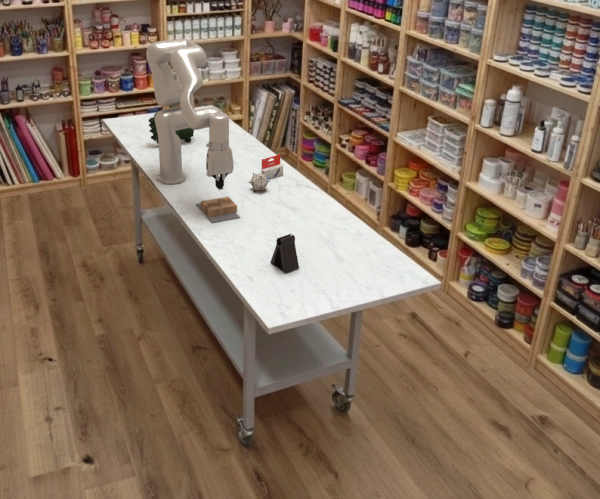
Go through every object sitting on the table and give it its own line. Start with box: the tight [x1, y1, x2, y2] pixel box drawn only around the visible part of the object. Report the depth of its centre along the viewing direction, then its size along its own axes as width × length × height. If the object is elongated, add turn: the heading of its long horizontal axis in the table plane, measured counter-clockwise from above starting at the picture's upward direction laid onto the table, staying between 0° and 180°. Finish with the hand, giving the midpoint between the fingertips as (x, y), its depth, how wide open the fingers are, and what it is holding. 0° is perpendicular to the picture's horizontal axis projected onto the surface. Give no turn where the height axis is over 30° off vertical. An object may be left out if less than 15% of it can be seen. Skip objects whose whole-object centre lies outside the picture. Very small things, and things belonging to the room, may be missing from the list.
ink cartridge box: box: [261, 154, 284, 181], centre depth 313 cm, size 2×11×10 cm, turn 131°
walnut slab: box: [200, 196, 238, 217], centre depth 284 cm, size 9×3×12 cm
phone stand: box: [270, 233, 300, 274], centre depth 247 cm, size 9×6×12 cm, turn 39°
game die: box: [248, 172, 271, 193], centre depth 302 cm, size 9×8×10 cm
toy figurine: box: [147, 111, 195, 145], centre depth 341 cm, size 9×19×25 cm
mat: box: [195, 202, 241, 224], centre depth 284 cm, size 18×12×1 cm, turn 28°
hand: (219, 188), depth 280 cm, fingers closed
